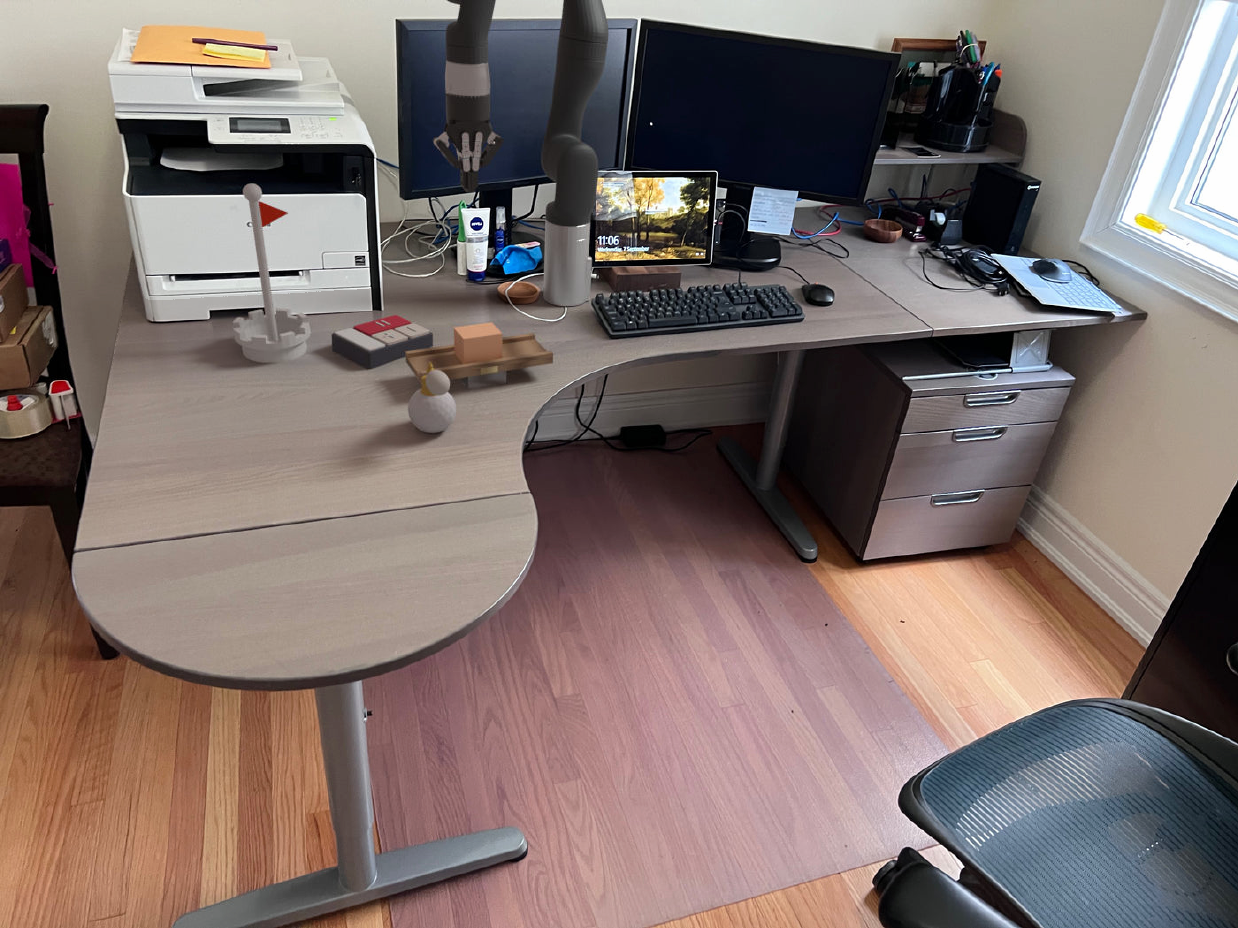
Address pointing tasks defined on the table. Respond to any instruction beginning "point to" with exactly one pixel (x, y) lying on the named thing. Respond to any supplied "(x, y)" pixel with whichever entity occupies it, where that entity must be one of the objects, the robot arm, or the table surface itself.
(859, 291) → the table surface
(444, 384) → the perfume bottle
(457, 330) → the block
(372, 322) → the calculator
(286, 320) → the flag stand
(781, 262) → the table surface
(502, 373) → the beam
